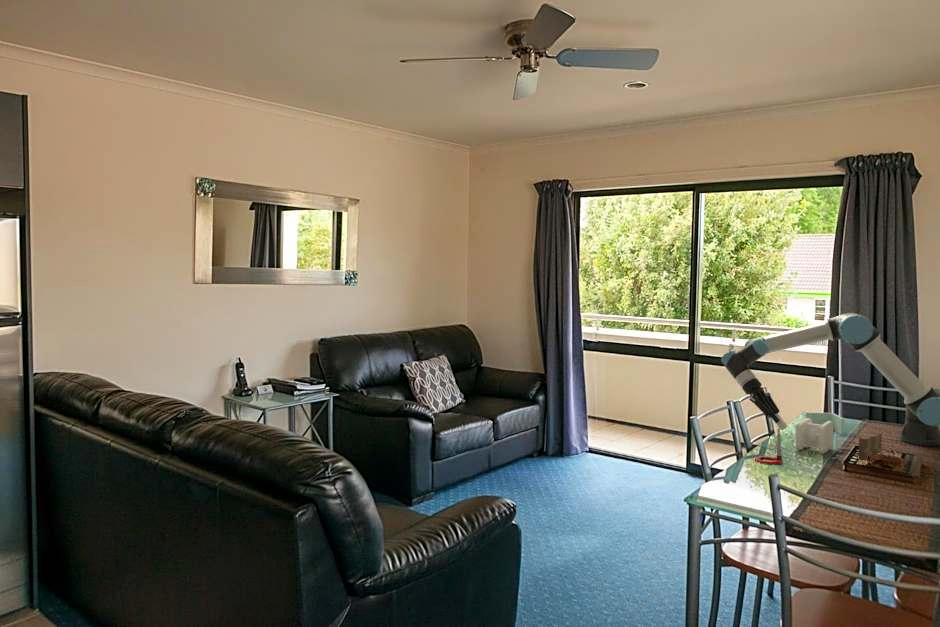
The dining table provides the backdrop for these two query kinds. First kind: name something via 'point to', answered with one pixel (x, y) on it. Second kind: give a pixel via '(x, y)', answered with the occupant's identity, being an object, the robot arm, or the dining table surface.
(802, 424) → the cable organizer
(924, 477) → the dining table surface
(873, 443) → the keeper stop
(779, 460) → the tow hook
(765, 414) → the robot arm
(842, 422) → the l-shaped corner panel
